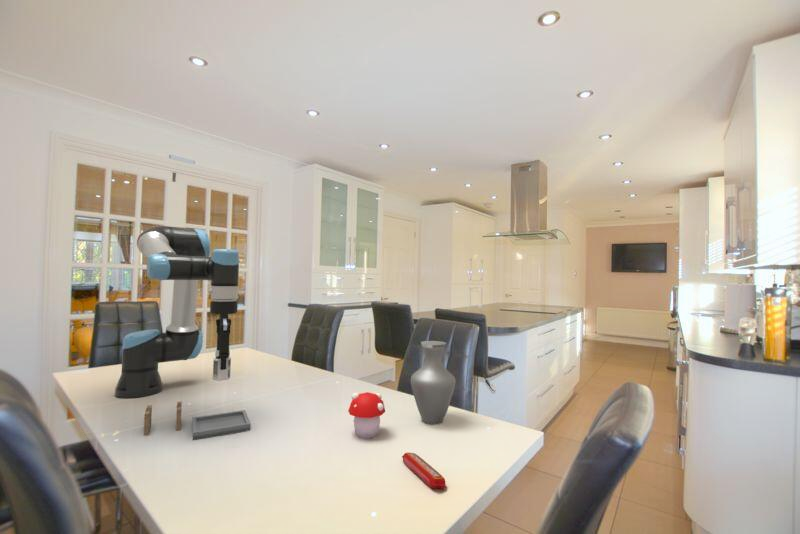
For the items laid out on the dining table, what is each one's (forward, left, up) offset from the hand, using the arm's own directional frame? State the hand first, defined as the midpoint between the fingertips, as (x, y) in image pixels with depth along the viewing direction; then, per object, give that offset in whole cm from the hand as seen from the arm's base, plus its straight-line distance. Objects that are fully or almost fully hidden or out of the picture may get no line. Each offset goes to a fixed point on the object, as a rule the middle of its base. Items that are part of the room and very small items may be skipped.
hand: (221, 377), depth 114 cm
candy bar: (+51, +39, -15) cm, 66 cm away
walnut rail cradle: (-7, -15, -15) cm, 22 cm away
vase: (+24, +60, -15) cm, 66 cm away
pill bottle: (0, 0, -1) cm, 1 cm away
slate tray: (0, 0, -15) cm, 15 cm away
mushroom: (+24, +37, -15) cm, 47 cm away
